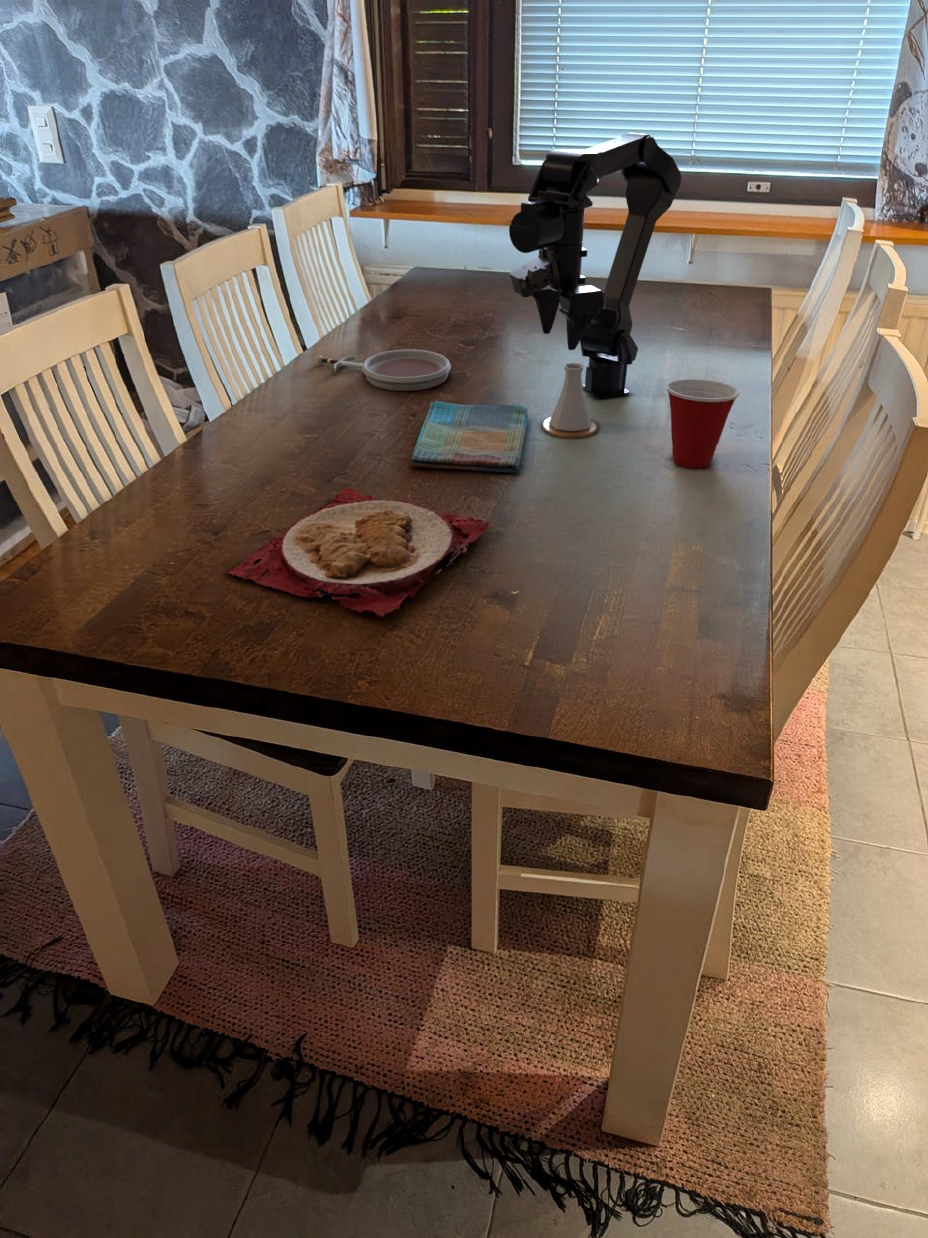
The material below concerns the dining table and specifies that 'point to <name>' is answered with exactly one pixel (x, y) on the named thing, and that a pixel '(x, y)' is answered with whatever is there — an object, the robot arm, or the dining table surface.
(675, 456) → the plastic cup
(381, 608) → the plate with food
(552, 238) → the robot arm
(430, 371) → the frying pan
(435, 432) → the dish towel
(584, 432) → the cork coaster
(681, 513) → the dining table surface
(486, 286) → the dining table surface
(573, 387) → the flask
